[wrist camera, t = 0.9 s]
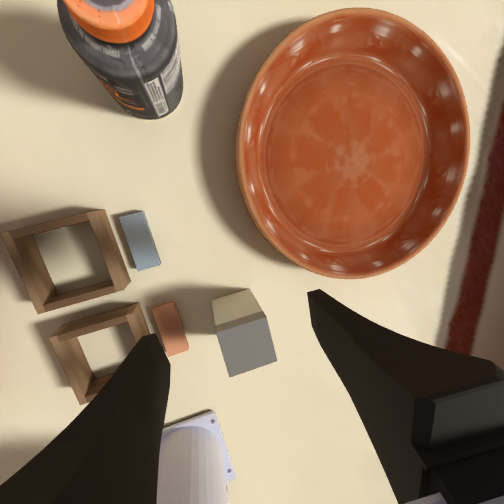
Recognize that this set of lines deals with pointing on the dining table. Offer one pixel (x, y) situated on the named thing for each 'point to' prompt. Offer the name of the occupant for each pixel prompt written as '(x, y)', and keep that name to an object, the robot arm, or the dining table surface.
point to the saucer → (353, 143)
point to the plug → (242, 332)
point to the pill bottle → (129, 50)
